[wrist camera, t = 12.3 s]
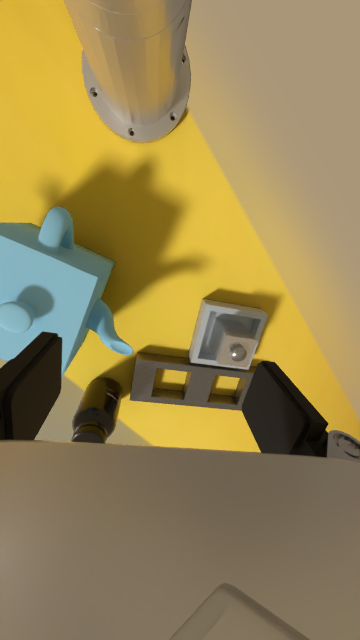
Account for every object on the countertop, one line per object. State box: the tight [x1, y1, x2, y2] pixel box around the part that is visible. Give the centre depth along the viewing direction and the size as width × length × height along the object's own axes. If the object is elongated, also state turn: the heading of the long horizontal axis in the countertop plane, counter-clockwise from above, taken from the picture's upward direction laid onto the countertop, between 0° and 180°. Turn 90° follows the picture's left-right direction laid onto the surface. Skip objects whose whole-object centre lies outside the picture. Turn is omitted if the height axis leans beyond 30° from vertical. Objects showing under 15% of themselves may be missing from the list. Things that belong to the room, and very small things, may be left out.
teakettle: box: [0, 207, 133, 377], centre depth 30 cm, size 19×19×15 cm
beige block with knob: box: [208, 318, 257, 368], centre depth 38 cm, size 5×5×8 cm
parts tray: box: [189, 299, 268, 370], centre depth 41 cm, size 11×11×3 cm
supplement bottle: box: [71, 378, 122, 444], centre depth 39 cm, size 7×7×12 cm
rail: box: [130, 352, 256, 411], centre depth 45 cm, size 24×9×2 cm, turn 78°
